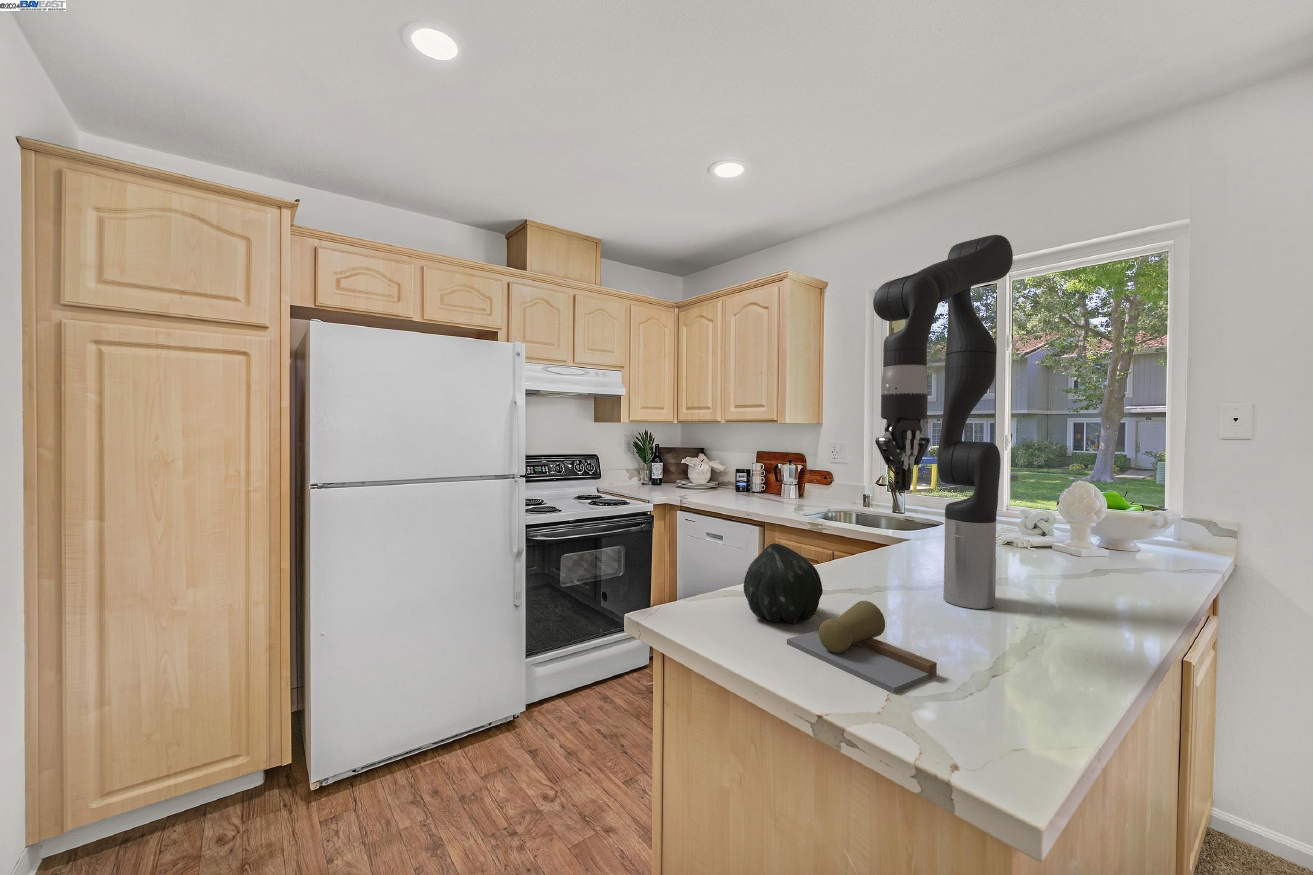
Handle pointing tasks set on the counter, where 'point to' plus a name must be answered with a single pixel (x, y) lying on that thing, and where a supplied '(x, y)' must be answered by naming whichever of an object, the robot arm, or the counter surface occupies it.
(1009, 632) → the counter surface
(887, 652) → the walnut rail
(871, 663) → the slate mat
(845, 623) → the olive pawn-shaped piece
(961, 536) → the robot arm
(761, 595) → the squash
